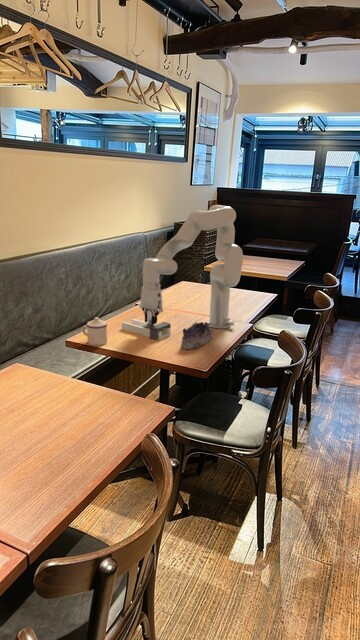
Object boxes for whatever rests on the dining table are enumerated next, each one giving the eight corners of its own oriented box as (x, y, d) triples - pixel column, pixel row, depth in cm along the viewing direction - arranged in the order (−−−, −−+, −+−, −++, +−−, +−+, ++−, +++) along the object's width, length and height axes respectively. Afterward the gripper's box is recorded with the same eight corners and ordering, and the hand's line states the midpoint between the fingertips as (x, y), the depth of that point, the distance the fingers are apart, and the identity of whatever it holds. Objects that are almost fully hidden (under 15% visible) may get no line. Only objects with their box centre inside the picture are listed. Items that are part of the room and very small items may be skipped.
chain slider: (165, 332, 215) (165, 311, 212) (159, 334, 211) (159, 314, 208) (149, 327, 220) (149, 307, 217) (142, 330, 217) (142, 310, 213)
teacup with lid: (111, 340, 207) (110, 316, 203) (101, 347, 199) (100, 322, 195) (88, 336, 211) (87, 313, 207) (77, 343, 203) (76, 318, 199)
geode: (199, 353, 195) (197, 331, 193) (176, 352, 201) (173, 330, 198) (217, 337, 213) (215, 317, 210) (195, 336, 218) (192, 316, 215)
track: (171, 334, 216) (172, 324, 215) (158, 340, 208) (158, 329, 207) (134, 324, 230) (134, 314, 228) (120, 329, 222) (119, 318, 220)
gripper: (170, 286, 208) (169, 324, 214) (143, 281, 217) (142, 317, 223) (159, 289, 202) (159, 328, 208) (132, 283, 212) (132, 320, 217)
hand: (150, 322), depth 215 cm, fingers closed on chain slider, 3 cm apart
